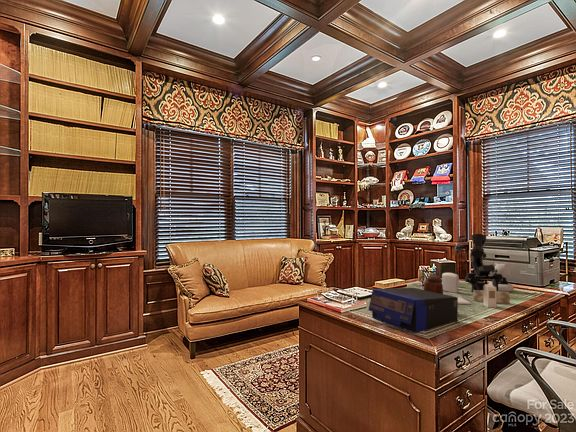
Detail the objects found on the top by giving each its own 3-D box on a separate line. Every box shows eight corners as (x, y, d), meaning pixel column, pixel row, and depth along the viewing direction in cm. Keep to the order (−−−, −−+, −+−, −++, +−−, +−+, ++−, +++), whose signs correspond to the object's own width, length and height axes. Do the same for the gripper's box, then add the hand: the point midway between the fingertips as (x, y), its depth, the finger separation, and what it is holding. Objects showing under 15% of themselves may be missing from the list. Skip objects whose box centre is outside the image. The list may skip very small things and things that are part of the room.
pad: (460, 298, 191) (460, 297, 191) (470, 304, 179) (470, 302, 179) (440, 298, 192) (440, 296, 192) (448, 303, 180) (448, 302, 180)
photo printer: (440, 290, 213) (441, 272, 213) (443, 289, 216) (444, 271, 216) (456, 293, 205) (457, 274, 205) (459, 292, 208) (459, 273, 208)
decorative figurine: (482, 287, 221) (482, 259, 221) (501, 287, 223) (502, 259, 223) (499, 293, 206) (499, 262, 206) (519, 292, 208) (519, 262, 208)
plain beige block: (491, 305, 178) (491, 285, 178) (496, 307, 174) (496, 287, 174) (483, 304, 179) (483, 285, 179) (488, 307, 174) (488, 287, 174)
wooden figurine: (447, 310, 168) (448, 276, 168) (440, 312, 164) (440, 277, 164) (427, 305, 178) (427, 273, 178) (420, 306, 175) (420, 274, 175)
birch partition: (474, 300, 188) (474, 290, 188) (473, 299, 189) (473, 289, 189) (509, 303, 182) (509, 293, 182) (508, 302, 183) (508, 292, 183)
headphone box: (367, 318, 154) (367, 289, 154) (413, 308, 173) (413, 281, 173) (411, 335, 133) (411, 301, 133) (457, 320, 152) (458, 291, 152)
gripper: (467, 259, 184) (476, 282, 172) (501, 259, 181) (512, 283, 170) (461, 270, 191) (469, 293, 180) (494, 271, 189) (504, 294, 178)
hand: (488, 290), depth 177 cm, fingers open, 9 cm apart
